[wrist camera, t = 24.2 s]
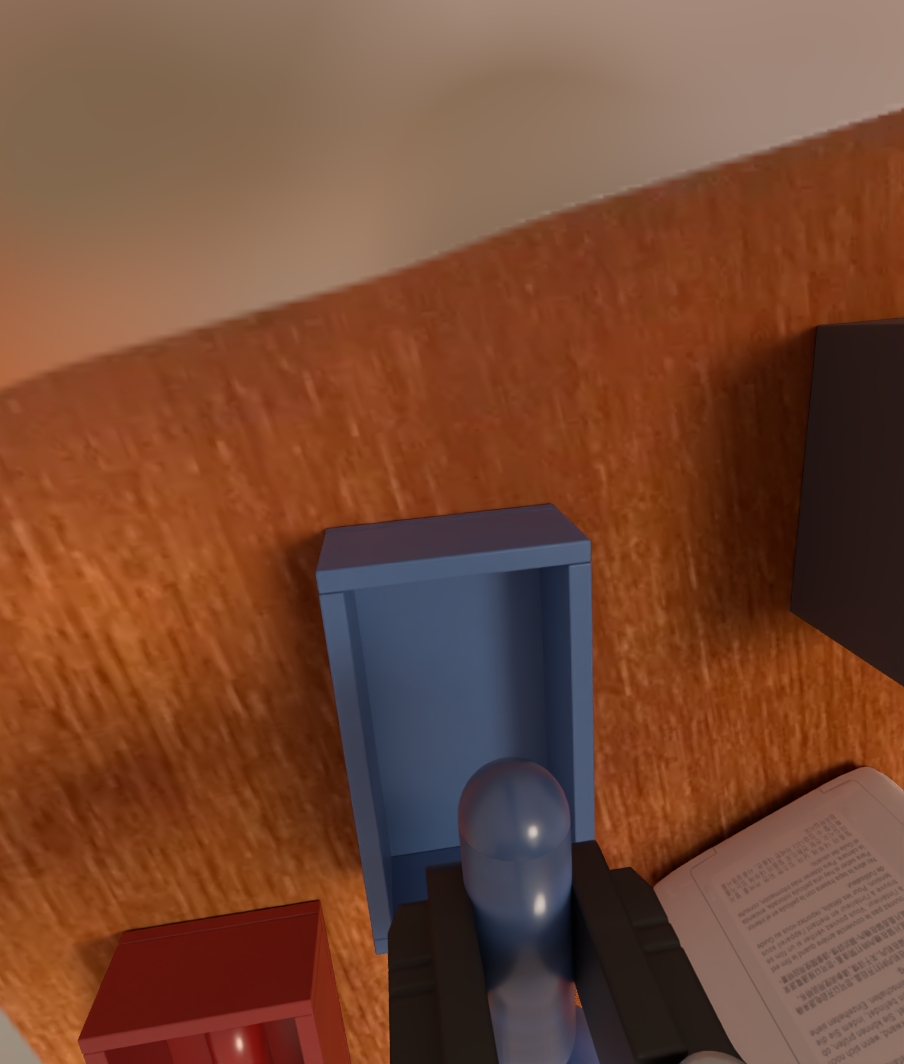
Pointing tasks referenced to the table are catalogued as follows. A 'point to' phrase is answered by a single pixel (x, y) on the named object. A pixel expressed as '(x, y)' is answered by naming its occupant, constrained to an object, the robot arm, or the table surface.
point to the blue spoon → (524, 910)
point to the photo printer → (803, 926)
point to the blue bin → (454, 676)
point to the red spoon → (239, 1045)
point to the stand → (855, 494)
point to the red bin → (219, 990)
